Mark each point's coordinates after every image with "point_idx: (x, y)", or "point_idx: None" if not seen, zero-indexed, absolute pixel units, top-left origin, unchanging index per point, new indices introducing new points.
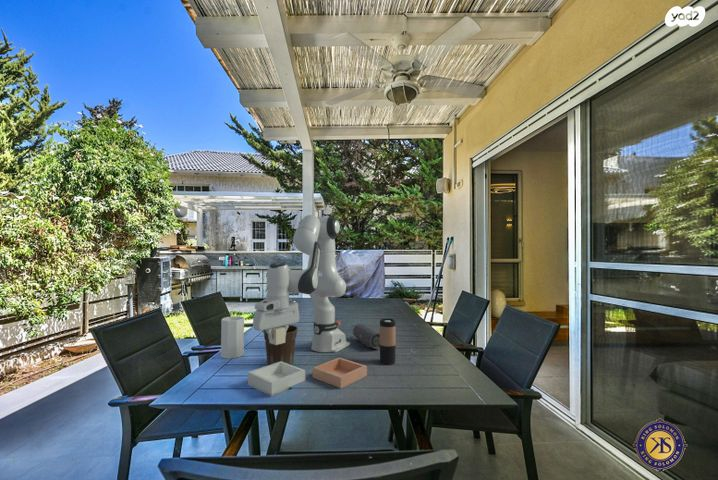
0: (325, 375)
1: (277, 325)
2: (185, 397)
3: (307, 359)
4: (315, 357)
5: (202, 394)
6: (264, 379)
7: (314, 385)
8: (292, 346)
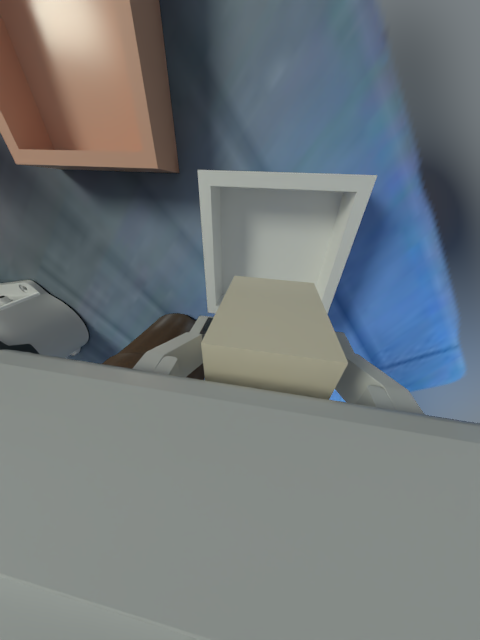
0: (146, 48)
1: (320, 412)
2: (430, 358)
3: (121, 305)
4: (98, 298)
5: (405, 344)
6: (354, 236)
7: (202, 117)
8: (141, 339)
